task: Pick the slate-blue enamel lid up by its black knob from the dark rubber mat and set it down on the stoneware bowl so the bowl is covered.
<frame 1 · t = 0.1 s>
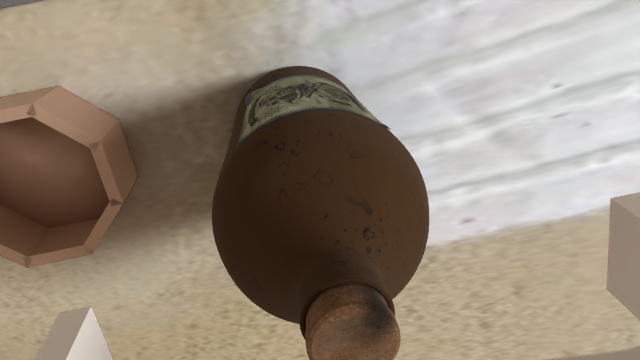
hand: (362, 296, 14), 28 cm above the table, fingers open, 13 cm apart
bowl: (55, 163, 40), on the table
olive oil: (298, 126, 41), on the table
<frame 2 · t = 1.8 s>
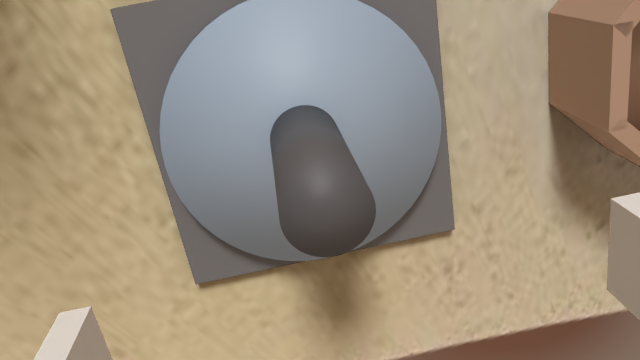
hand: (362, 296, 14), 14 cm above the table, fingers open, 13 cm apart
lid: (302, 132, 26), point 1 cm above the table, touching mat
mat: (301, 128, 27), on the table
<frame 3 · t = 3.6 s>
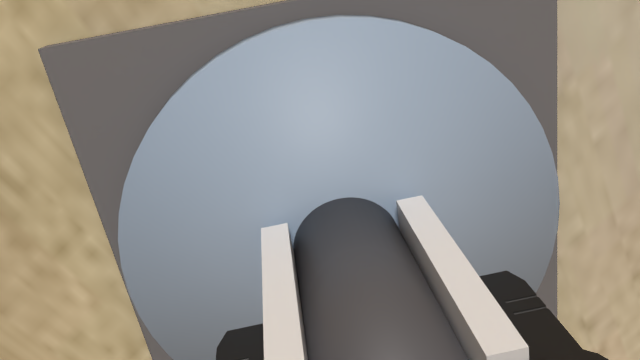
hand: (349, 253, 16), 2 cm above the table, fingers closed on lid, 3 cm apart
lid: (342, 231, 17), point 1 cm above the table, touching gripper
mat: (339, 221, 18), on the table
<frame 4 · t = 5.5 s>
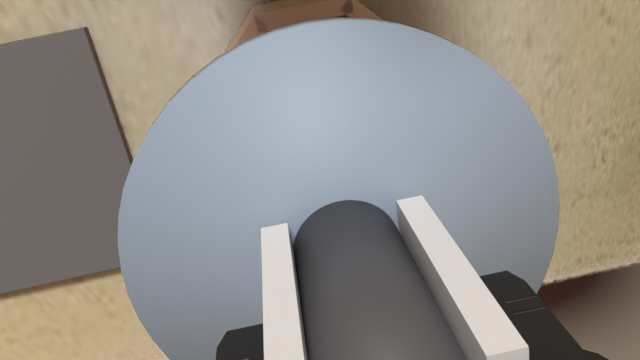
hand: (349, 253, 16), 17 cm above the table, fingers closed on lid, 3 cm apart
lid: (342, 233, 17), point 16 cm above the table, touching gripper
bowl: (312, 93, 32), on the table
mat: (6, 175, 31), on the table
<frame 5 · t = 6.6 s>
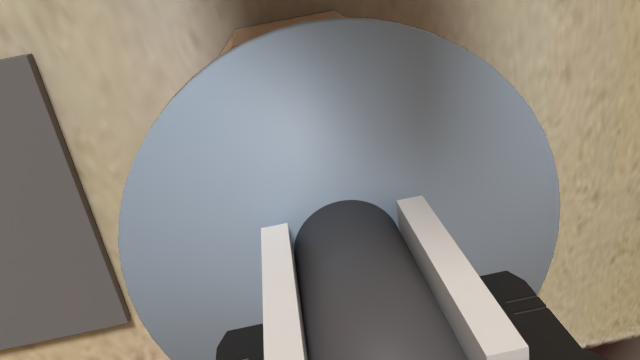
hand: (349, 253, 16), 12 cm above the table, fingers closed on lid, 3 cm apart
lid: (342, 233, 17), point 10 cm above the table, touching gripper
bowl: (306, 134, 26), on the table
when the fingers open (8 cm above the table, at t = 7.4 s): lid drops 2 cm, resting on bowl.
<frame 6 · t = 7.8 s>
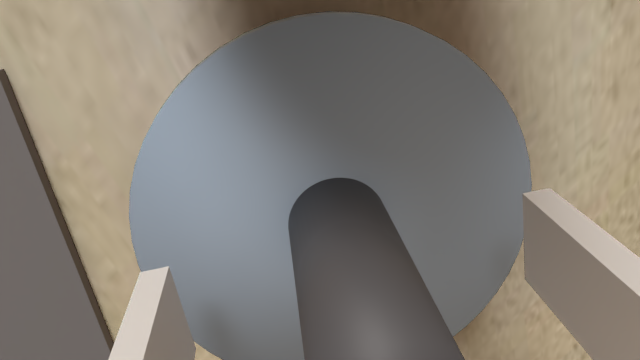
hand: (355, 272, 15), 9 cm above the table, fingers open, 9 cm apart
lid: (333, 210, 19), point 5 cm above the table, touching bowl
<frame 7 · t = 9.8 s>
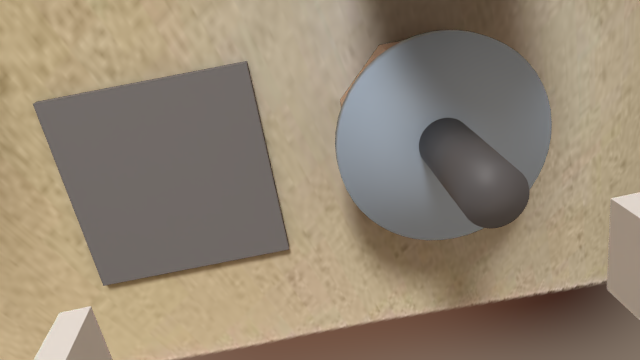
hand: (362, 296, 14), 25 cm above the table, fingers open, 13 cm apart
lid: (440, 138, 34), point 5 cm above the table, touching bowl
bowl: (420, 116, 38), on the table
mat: (171, 178, 38), on the table
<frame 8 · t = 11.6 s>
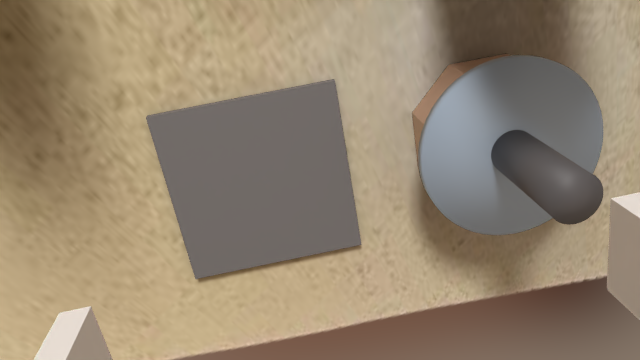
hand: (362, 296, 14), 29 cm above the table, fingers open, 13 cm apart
lid: (507, 147, 39), point 5 cm above the table, touching bowl
bowl: (481, 126, 43), on the table
mat: (261, 182, 43), on the table
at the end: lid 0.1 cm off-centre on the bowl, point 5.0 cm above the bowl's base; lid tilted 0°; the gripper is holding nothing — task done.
